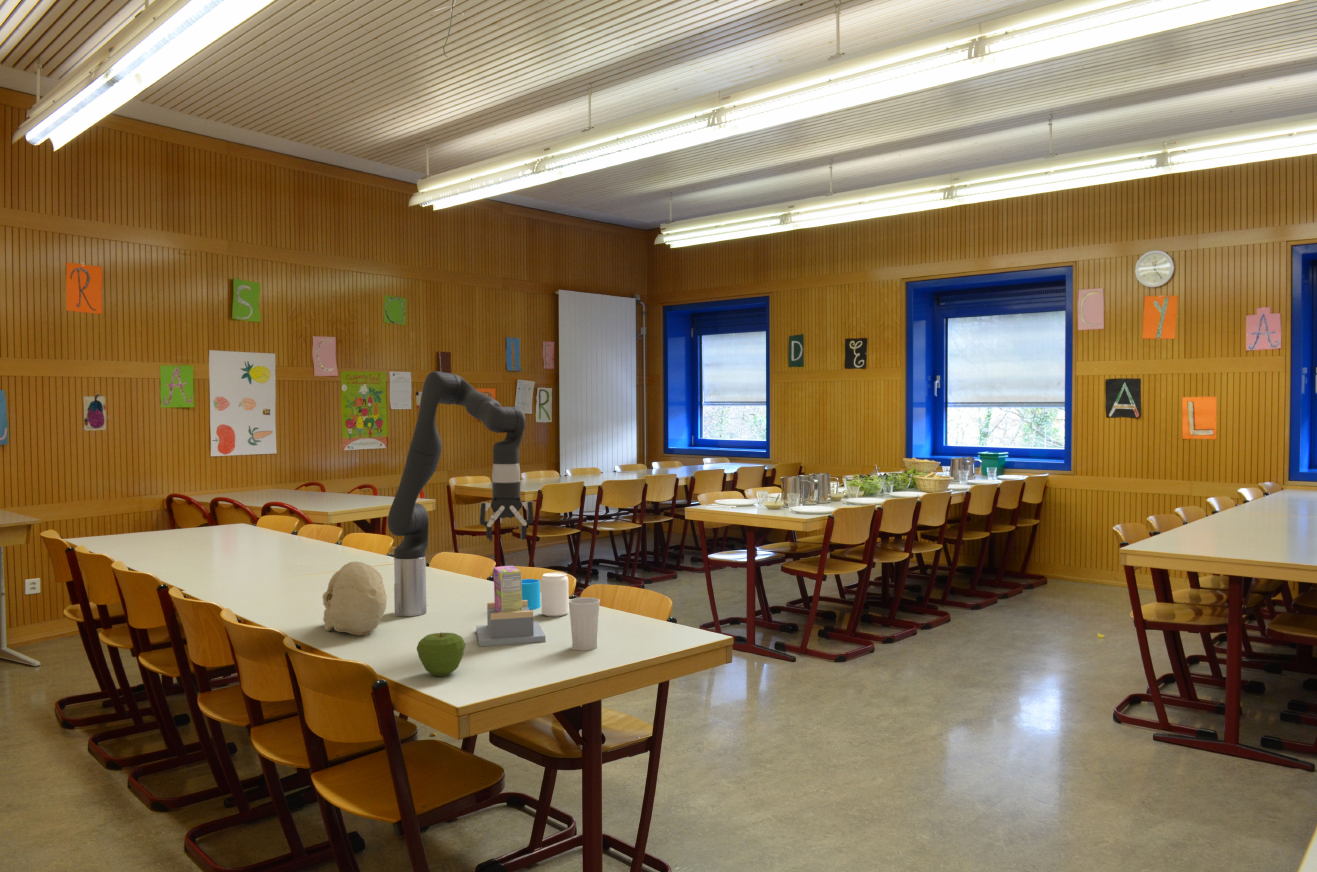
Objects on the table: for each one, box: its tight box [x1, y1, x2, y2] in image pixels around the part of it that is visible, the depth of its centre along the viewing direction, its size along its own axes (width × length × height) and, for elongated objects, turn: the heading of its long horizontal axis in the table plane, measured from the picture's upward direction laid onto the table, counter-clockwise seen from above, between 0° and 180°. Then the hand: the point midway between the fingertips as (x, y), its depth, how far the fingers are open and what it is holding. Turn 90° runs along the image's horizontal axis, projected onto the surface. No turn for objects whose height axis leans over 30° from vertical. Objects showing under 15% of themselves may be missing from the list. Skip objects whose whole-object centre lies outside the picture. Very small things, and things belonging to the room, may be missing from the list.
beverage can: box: [540, 571, 570, 617], centre depth 265 cm, size 8×8×12 cm
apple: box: [416, 631, 466, 677], centre depth 204 cm, size 11×10×10 cm
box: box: [493, 565, 523, 613], centre depth 239 cm, size 10×6×12 cm, turn 21°
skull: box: [322, 561, 388, 636], centre depth 247 cm, size 15×26×20 cm, turn 44°
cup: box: [569, 597, 601, 651], centre depth 227 cm, size 8×8×12 cm
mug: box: [522, 578, 541, 611], centre depth 276 cm, size 12×8×8 cm
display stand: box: [475, 600, 547, 647], centre depth 239 cm, size 17×17×8 cm
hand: (506, 539), depth 239 cm, fingers open, 8 cm apart
